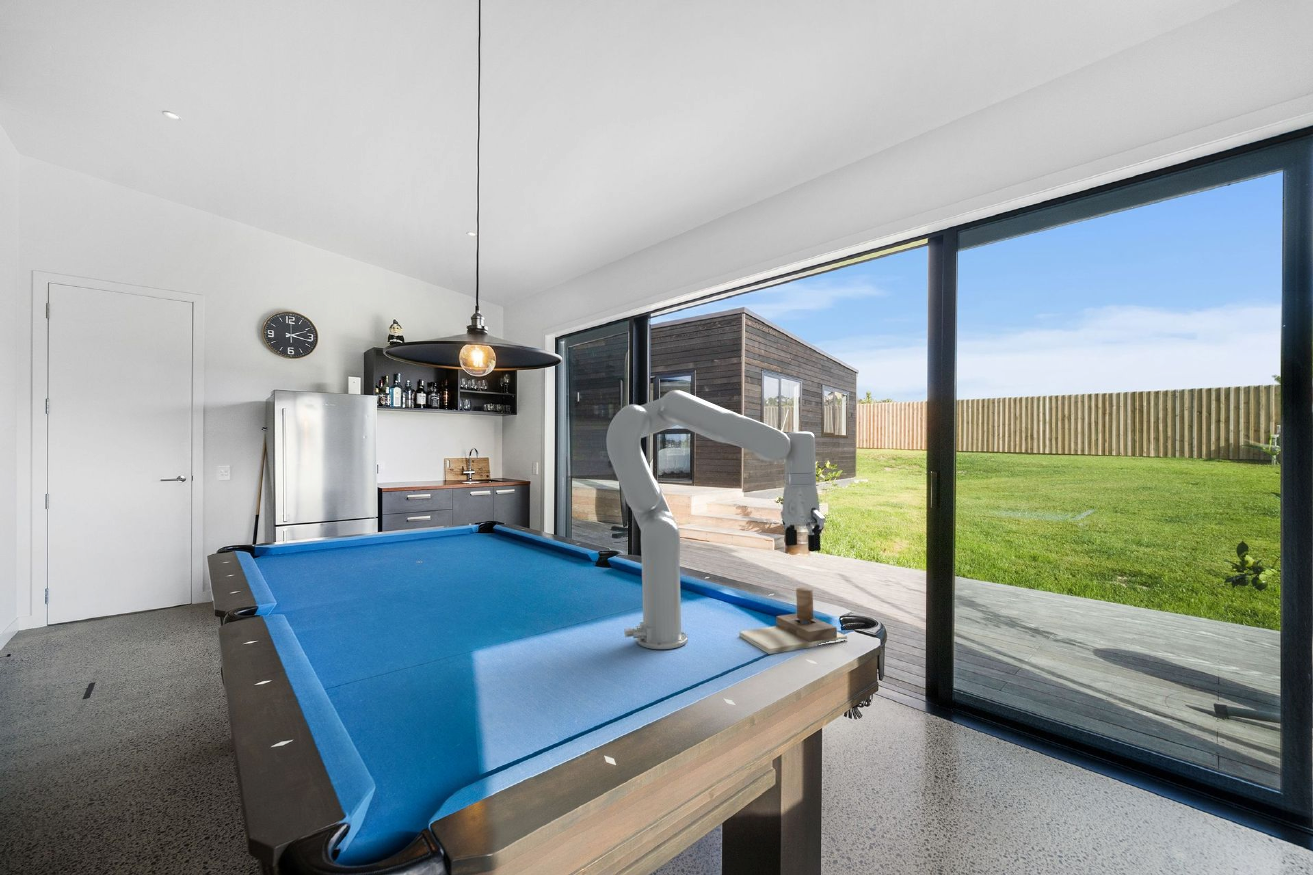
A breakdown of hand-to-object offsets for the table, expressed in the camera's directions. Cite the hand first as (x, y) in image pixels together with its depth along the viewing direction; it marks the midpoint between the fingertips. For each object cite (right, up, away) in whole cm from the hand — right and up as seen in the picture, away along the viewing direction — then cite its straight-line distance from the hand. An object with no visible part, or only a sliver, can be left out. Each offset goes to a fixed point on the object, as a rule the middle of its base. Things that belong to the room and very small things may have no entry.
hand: (802, 547), depth 140 cm
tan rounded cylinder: (+1, -21, -1) cm, 21 cm away
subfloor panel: (-3, -22, -2) cm, 22 cm away
